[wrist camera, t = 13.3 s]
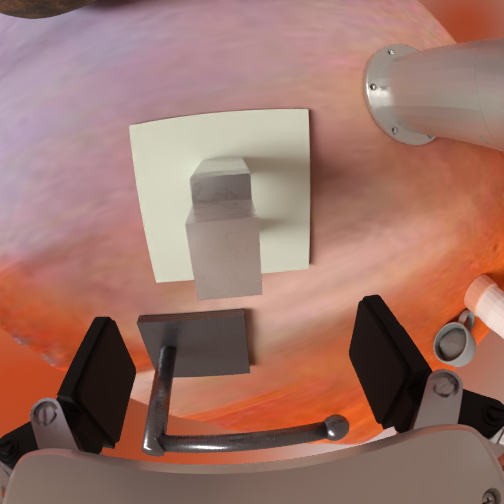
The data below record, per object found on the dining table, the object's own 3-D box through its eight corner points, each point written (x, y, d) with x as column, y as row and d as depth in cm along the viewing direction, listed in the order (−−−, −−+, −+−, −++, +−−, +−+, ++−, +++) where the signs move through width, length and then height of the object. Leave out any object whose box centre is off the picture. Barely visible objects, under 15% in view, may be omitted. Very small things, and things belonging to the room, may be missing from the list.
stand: (316, 300, 37) (364, 408, 21) (310, 357, 42) (342, 454, 26) (139, 315, 36) (104, 426, 20) (159, 370, 40) (144, 469, 25)
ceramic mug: (442, 353, 47) (461, 377, 40) (426, 344, 45) (446, 371, 38) (474, 314, 44) (496, 335, 37) (461, 300, 41) (485, 324, 34)
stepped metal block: (241, 156, 27) (256, 185, 15) (247, 235, 31) (263, 316, 18) (201, 160, 27) (180, 193, 15) (210, 239, 31) (202, 321, 18)
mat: (305, 109, 27) (308, 109, 26) (306, 264, 34) (308, 268, 34) (132, 125, 26) (129, 125, 25) (158, 278, 33) (156, 282, 33)
